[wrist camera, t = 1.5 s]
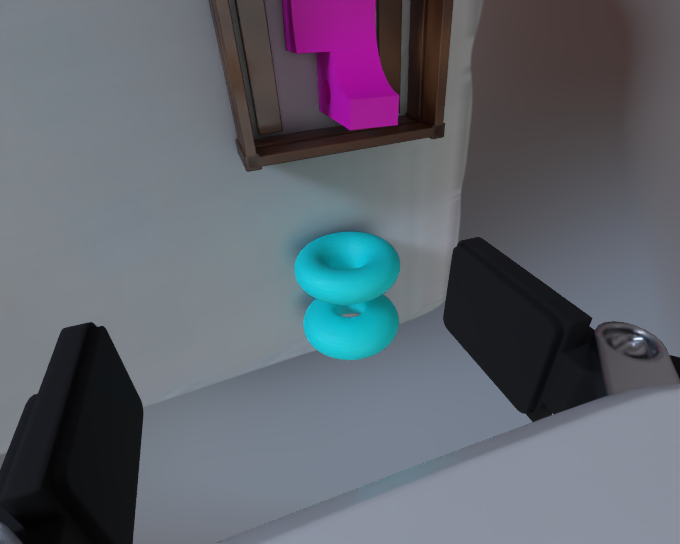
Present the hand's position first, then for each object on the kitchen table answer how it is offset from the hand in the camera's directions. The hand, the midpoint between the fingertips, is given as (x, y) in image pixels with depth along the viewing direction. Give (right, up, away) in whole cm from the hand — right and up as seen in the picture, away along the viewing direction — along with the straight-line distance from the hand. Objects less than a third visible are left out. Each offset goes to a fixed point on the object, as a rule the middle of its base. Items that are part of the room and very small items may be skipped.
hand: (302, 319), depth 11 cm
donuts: (0, +2, +33) cm, 33 cm away
